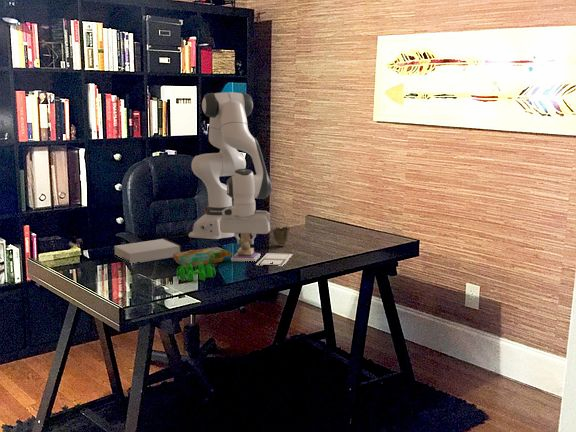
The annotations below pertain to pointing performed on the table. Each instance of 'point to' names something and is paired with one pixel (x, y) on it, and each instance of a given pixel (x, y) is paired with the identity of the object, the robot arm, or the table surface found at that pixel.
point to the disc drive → (147, 250)
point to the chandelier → (191, 272)
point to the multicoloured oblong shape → (201, 256)
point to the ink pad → (245, 257)
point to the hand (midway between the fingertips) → (245, 243)
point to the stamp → (245, 246)
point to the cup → (281, 235)
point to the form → (274, 259)
